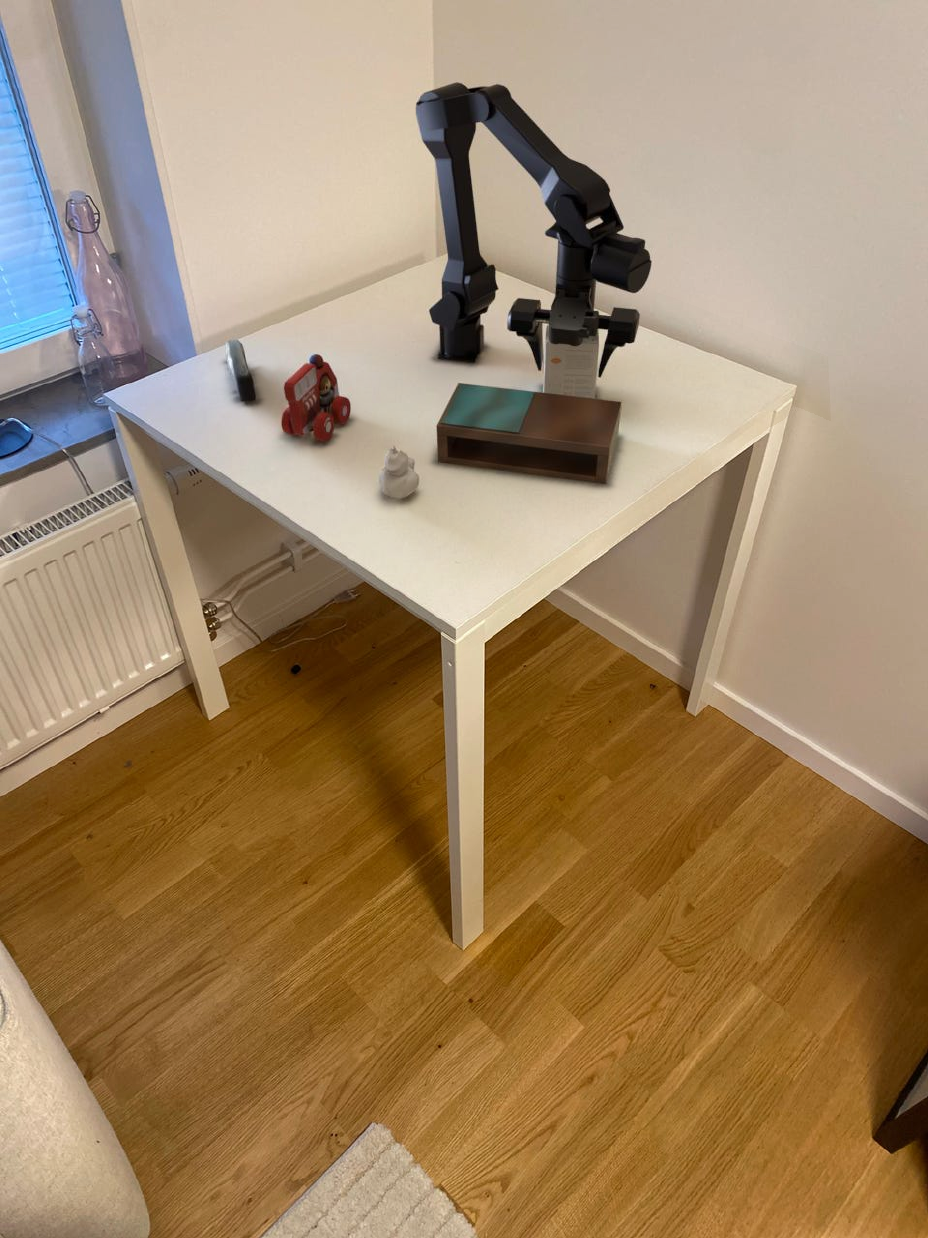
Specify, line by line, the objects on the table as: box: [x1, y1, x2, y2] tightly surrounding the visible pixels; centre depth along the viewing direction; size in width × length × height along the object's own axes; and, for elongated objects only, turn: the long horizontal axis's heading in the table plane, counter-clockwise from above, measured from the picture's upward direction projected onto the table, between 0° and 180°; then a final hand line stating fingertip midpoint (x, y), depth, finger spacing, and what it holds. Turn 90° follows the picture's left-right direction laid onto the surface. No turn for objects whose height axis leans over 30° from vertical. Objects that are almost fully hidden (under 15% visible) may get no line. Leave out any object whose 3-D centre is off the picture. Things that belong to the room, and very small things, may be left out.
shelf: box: [435, 382, 623, 485], centre depth 133 cm, size 24×12×6 cm, turn 75°
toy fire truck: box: [280, 353, 352, 442], centre depth 137 cm, size 7×12×10 cm, turn 157°
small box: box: [542, 324, 600, 399], centre depth 142 cm, size 8×6×10 cm
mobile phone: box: [225, 339, 257, 403], centre depth 149 cm, size 5×3×15 cm
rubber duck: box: [378, 445, 420, 499], centre depth 125 cm, size 5×7×8 cm
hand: (569, 372), depth 143 cm, fingers open, 9 cm apart
